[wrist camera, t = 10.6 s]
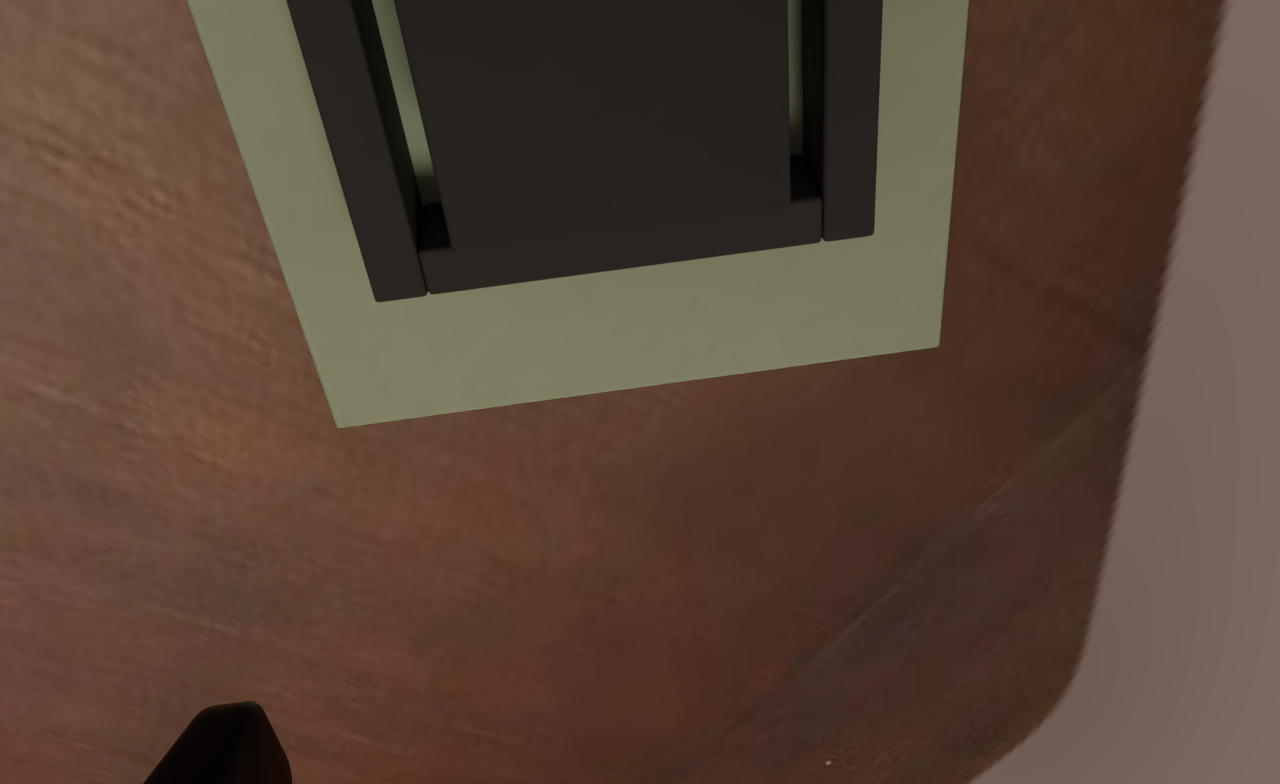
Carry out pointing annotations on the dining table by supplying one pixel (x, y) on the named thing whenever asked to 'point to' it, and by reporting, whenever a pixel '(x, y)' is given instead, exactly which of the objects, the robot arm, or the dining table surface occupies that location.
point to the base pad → (597, 265)
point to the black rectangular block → (599, 113)
